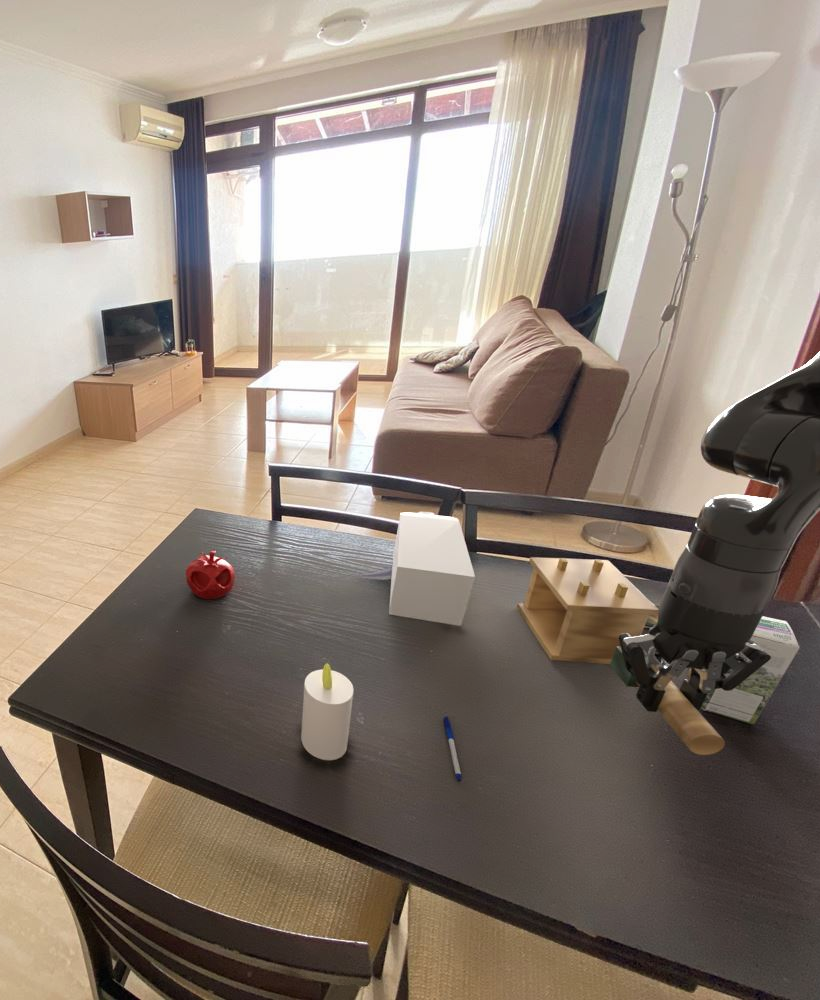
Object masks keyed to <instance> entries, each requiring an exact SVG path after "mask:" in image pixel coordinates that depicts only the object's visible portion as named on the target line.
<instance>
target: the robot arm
mask: <svg viewBox="0 0 820 1000" xmlns="http://www.w3.org/2000/svg"><path fill="white" fill-rule="evenodd" d="M700 452H701V456H702V459H703V460H704V461H705V462H706V463H707V465H708V466H710V467H712V468H714V469H716V470H718V471H721V472H724V473H727V474H731V475H734V476H738V477H742V478H746V479H749V480H752V481H756V482H760V483H762V484H766V485H769V486H773V487H776V488H777V491H776V493H775V494H774V496H773V497H772V498H769V497H768V498H767V497H759V496H753V495H752V496H751V495H743V494H742V495H741V494H723V495H718V496H713V497H712V498H710V499H709V500H708V501H706V502H705V503H704V504H703V506H702V508H701V510H700V512H699V514H698V516H697V519H696V521H695V524H694V526H693V529H692V531H691V534H690V536H689V539H688V540H687V544H686V546H685V548H684V550H683V551H682V553H681V554H680V556H679V557H678V559H677V561H676V563H675V565H674V568H673V570H672V573H671V575H670V578H669V580H668V583H667V585H666V587H665V589H664V590H665V591H664V593H663V596H662V598H661V600H660V603H659V605H658V606H659V608H658V621H657V623H656V624H655V625H654V626H653V627H652V628H651V629H650V628H649V630H648V631H647V633H646V634H641V636H636V637H632V636H631V635H630V634H628V633H623V634H621V635H620V636H619V642H620V646H621V650H622V654H623V658H624V662H625V666H626V669H627V670H628V671H629V672H630V673H631V674H632V676H633V677H634V678H635V680H636V681H637V682H638V684H640V686H639V687H638V689H637V692H636V694H635V697H636V699H637V700H638V702H639V703H640V704H641V705H642V706H643V708H644V709H645V710H646V712H651V713H652V712H653V713H656V712H657V711H658V710H657V709H658V706H659V704H660V703H661V700H662V698H663V696H664V694H665V690H664V688H665V687H666V686H667V685H668V683H669V682H670V681H672V680H673V678H674V679H678V678H679V677H680V676H681V675H682V674H683V672H684V671H685V670H686V669H687V674H686V675H687V678H688V679H685V678H684V679H683V681H682V684H681V686H680V688H679V690H680V691H681V692H682V693H683V695H684V696H685V697H686V698H687V699H688V700H689V701H690V702H691V704H692V705H693V706H694V707H695V708H696V709H697V710H698V711H699V710H701V709H700V708H701V707H702V704H703V703H704V700H705V698H706V696H707V694H709V693H712V692H713V691H714V689H719V688H722V689H723V690H725V691H730V690H733V689H734V688H735V687H737V686H738V685H739V684H740V683H742V682H743V681H744V680H745V679H747V678H748V677H749V676H750V675H752V674H753V673H754V672H755V671H757V670H758V669H759V668H760V667H762V666H763V665H764V664H765V663H767V662H768V661H769V660H770V659H771V656H770V655H769V654H768V653H766V652H765V651H764V650H763V649H762V648H760V647H759V646H758V645H757V644H756V643H755V642H753V641H752V640H750V639H751V637H752V635H753V633H754V631H755V629H756V627H757V625H758V623H759V622H760V620H761V618H762V616H763V615H764V614H765V612H766V609H767V607H768V606H769V604H770V602H771V599H772V597H773V595H774V594H775V591H776V589H777V586H778V583H779V580H780V575H781V571H782V569H783V567H784V565H785V563H786V561H787V559H788V557H789V555H790V553H791V551H792V549H793V547H794V545H795V544H796V541H797V539H798V538H799V536H800V534H801V533H802V531H803V530H804V529H805V528H806V526H807V525H808V524H809V523H810V522H811V521H812V519H814V517H815V516H816V515H818V513H819V512H820V351H819V352H818V353H817V354H816V355H815V356H814V357H813V358H812V359H810V360H809V361H808V362H807V363H806V364H804V365H803V366H801V367H800V368H798V369H795V370H794V371H792V372H790V373H787V374H786V375H784V376H782V377H781V378H779V379H777V380H776V381H774V382H772V383H770V384H767V385H766V386H765V387H763V388H761V389H759V390H757V391H755V392H753V393H752V394H750V395H748V396H745V397H744V398H742V399H740V400H739V401H737V402H736V403H734V404H732V405H730V406H729V407H728V408H726V409H725V410H724V411H723V412H721V413H720V414H719V415H718V416H717V417H716V418H715V419H714V420H713V421H712V422H711V423H710V424H709V425H708V427H707V428H706V429H705V432H704V433H703V436H702V439H701V443H700ZM651 647H653V648H651ZM649 649H652V651H651V652H650V653H649V654H648V652H649ZM645 657H648V658H649V661H648V663H647V664H646V661H645ZM731 668H732V669H733V672H732V673H731V674H730V675H729V676H728V677H726V676H725V675H724V674H725V673H726V672H727V671H728V670H730V669H731ZM658 671H659V673H658V675H657V672H658Z"/></svg>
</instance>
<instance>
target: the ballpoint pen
mask: <svg viewBox="0 0 820 1000" xmlns="http://www.w3.org/2000/svg"><path fill="white" fill-rule="evenodd" d="M443 718H444V719H443V722H444V727H445V732H446V737H447V741H448V745H449V749H450V754H451V759H452V763H453V769H454V772H455V777H456V779H457V781H458V782H462V772H461V768H460V764H459V757H458V755H457V750H456V749H457V748H456V744H455V738H454V733H453V730H452V725H451V720H450V718H449V716H448V715H446V716H444V717H443Z"/></svg>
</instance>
